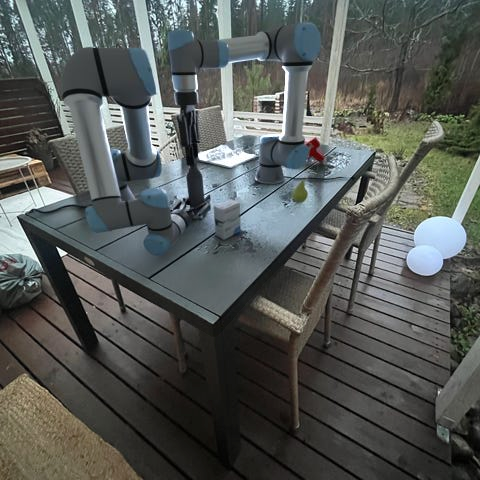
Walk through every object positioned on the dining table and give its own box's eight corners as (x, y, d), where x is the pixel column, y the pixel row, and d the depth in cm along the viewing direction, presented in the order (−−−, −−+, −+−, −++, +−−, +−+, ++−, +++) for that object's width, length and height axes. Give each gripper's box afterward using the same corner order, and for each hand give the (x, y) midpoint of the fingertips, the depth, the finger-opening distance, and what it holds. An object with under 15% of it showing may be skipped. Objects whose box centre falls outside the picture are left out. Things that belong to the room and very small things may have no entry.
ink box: (232, 226, 103) (231, 197, 97) (241, 231, 100) (241, 202, 94) (214, 235, 98) (212, 205, 92) (223, 240, 95) (222, 209, 89)
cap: (189, 161, 101) (188, 155, 100) (199, 161, 101) (199, 156, 100) (186, 164, 98) (185, 158, 97) (196, 164, 98) (196, 159, 96)
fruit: (288, 200, 123) (290, 174, 116) (302, 197, 125) (305, 172, 119) (296, 206, 118) (299, 179, 111) (310, 203, 120) (314, 177, 114)
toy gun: (328, 157, 168) (316, 136, 164) (328, 158, 165) (315, 137, 161) (303, 172, 178) (290, 152, 174) (302, 174, 175) (289, 154, 171)
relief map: (230, 168, 162) (230, 159, 159) (189, 158, 180) (188, 150, 177) (256, 157, 180) (256, 149, 177) (216, 149, 198) (215, 142, 195)
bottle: (207, 212, 113) (202, 156, 101) (203, 219, 108) (198, 161, 96) (193, 212, 114) (186, 156, 101) (189, 218, 109) (182, 161, 96)
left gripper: (153, 229, 97) (181, 202, 116) (203, 236, 93) (224, 207, 112) (149, 210, 93) (179, 186, 112) (201, 216, 89) (223, 190, 108)
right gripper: (185, 88, 94) (192, 156, 107) (162, 92, 81) (173, 169, 93) (205, 89, 93) (210, 157, 106) (186, 93, 79) (194, 171, 92)
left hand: (201, 196), depth 112 cm, fingers closed on bottle, 6 cm apart
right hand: (193, 163), depth 99 cm, fingers closed on cap, 4 cm apart
